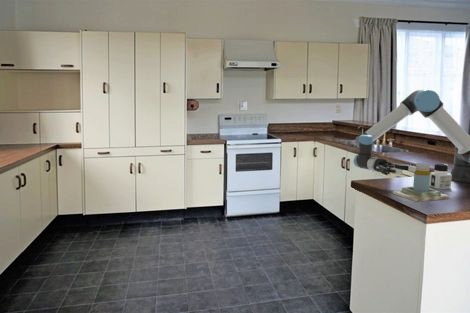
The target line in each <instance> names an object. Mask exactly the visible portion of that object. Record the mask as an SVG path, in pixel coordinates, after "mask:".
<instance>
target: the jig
mask: <svg viewBox="0 0 470 313" xmlns="http://www.w3.org/2000/svg"><path fill="white" fill-rule="evenodd" d="M392 194H393V195H397V196H399V197H402V198H405V199H407V200H410V201H414V202H416V203H417V202H426V201H427V202H428V201H438V200H448V199H450V198H451V196H450V195H447V194H444V193H442V191H440V190H438V189H432V188H430V187H429V192H423V193H420V192H417V191H413V186H405V187H401V190H392Z"/></svg>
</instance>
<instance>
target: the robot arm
mask: <svg viewBox="0 0 470 313" xmlns="http://www.w3.org/2000/svg"><path fill="white" fill-rule="evenodd" d="M417 112H419V113H420V114H421V115H422V117H424V118H425V119H430V120H431V122H432V123H433V124H434V125H435V126H436V127H437V128H438V129H439V130H440V131H441V132H442V133H443V134H444V136H445V137H446V138H447V139H448V140H450V142H451V143H452V144H453V145H454V157H453V166H452V169H451V171H450V173H449V174H451V175H452V179H451V181H453V182H457V183H466V184H468V183H469V184H470V135H469V134H468V133H467V131H466V130H464V128H463V127H461V126H462V125H460V124H459V123H458V122H457V121H456V120H455V119H454V117H452V115H451V114H450V113H449V112H448V111H447V110H446V109H445V108H444V102H443V101H442V100H441V99H440V96H439V94H438V93H437V92H436V91H434V90H432V89H429V88H427V89H418V90H415V91H413V92H411V93H410V94H409V95H408V96H407V97H405V98H404V99H403V100H402V101H401V102H400V103H399V105H398V106H397V107H396V108H394V109H393V110H392V111H391V112H389V113H388V114H387V115H386V116H384V117H383V118H381V119H380V120H379V121H378V122H377V123H375V124H374V125H373V126H371V127H370V128H369V129H367V130H366V131H365V132H363V133H362V134H360V135H358V136H356V138H355V140H354V144H355V146H356V147H357V148H358V153H357V154H356V155H355V156H354V158H353V164H354V166H355V167H357V168H360V169H363V170H369V171H372V172H378V173H384V174H387V175H391V174H394V175H398V176H403V171H408V172H412V173H414V172H415V170H416V166H414V165H413V166H412V164H411V163H409V164H406V163H405V164H404V163H403V164H402V163H395V162H393V163H392V162H388V160H387V159H385V158H379V157H376V156H373V146H374V145H373V143H374V142H375V141H376V140H377V139H379V138H380V137H381V136H383V135H384V134H385V133H387V132H388V131H389V130H391V129H392V128H393V127H395V126H396V125H397V124H399V123H400V122H401V121H402V120H404V119H405V118H407V117H408V116H412V115H413V114H415V113H417Z"/></svg>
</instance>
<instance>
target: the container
mask: <svg viewBox="0 0 470 313" xmlns="http://www.w3.org/2000/svg"><path fill="white" fill-rule="evenodd" d="M433 168H434V170H433V171H434V172H433V171H432V172H430V182H429V188H430V187H431V188H434V189H436V190H446V189H451V188H452V180H451V179H452V175H451V174H450V173H449V165H448V164H446V163H439V162H438V163H435V164H434V167H433Z"/></svg>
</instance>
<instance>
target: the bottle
mask: <svg viewBox="0 0 470 313" xmlns="http://www.w3.org/2000/svg"><path fill="white" fill-rule="evenodd" d="M415 167H416V170H415V172H413V186H412V187H413V191H417V192H420V193H423V192H429V188H430V186H429V182H430V173H431V172H430V168H431V163H426V162H416V163H415Z"/></svg>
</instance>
